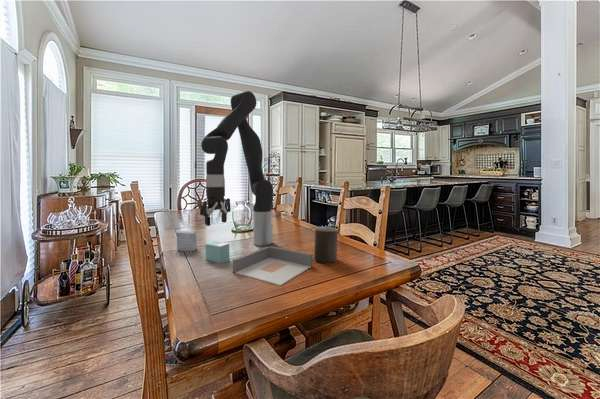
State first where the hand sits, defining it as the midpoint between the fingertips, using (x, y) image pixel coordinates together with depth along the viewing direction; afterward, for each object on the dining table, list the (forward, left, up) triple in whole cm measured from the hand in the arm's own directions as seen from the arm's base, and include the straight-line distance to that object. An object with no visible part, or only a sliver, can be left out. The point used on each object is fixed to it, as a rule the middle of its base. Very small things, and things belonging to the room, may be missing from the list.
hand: (216, 223), depth 118 cm
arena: (-4, +27, -16) cm, 32 cm away
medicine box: (-2, -23, -16) cm, 28 cm away
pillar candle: (-25, +39, -16) cm, 49 cm away
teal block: (0, 0, -16) cm, 16 cm away
